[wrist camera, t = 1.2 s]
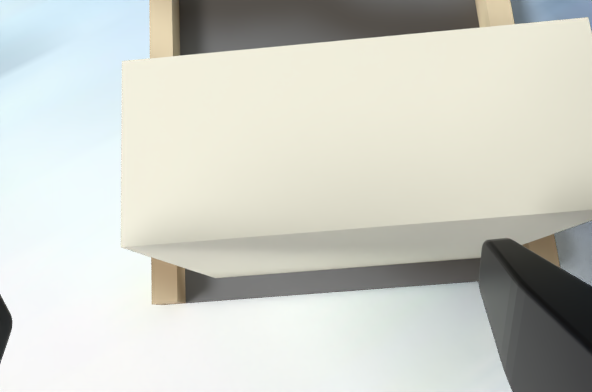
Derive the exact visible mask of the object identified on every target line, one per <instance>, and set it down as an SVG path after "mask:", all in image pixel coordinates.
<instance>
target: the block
mask: <svg viewBox="0 0 592 392" xmlns="http://www.w3.org/2000/svg"><path fill="white" fill-rule="evenodd" d="M591 220H592V32H591V28H590V23H589V19H588V17H586V18H576V19H565V20H555V21H544V22H533V23H523V24H512V25H501V26H491V27H480V28H469V29H459V30H448V31H437V32H427V33H416V34H405V35H395V36H384V37H373V38H363V39H352V40H341V41H331V42H320V43H309V44H299V45H288V46H277V47H267V48H256V49H245V50H235V51H224V52H214V53H203V54H192V55H182V56H171V57H160V58H150V59H139V60H128V61H122V140H121V248H124V249H128V250H131V251H134V252H137V253H140V254H143V255H146V256H149V257H152V258H155V259H158V260H161V261H164V262H167V263H170V264H173V265H177V266H180V267H183V268H186V269H189V270H192V271H195V272H198V273H201V274H204V275H207V276H210V277H213V278H224V277H237V276H251V275H264V274H277V273H290V272H303V271H316V270H329V269H342V268H355V267H368V266H381V265H394V264H407V263H420V262H433V261H446V260H459V259H472V258H481V251H482V245H483V243H484V242H485V241H486V240H488V239H500V238H510V239H512V240H514V241H516V242H517V243H519V244H521V245H523V244H526V243H529V242H532V241H535V240H538V239H540V238H543V237H546V236H549V235H552V234H555V233H557V232H560V231H563V230H566V229H569V228H572V227H574V226H577V225H580V224H583V223H586V222H589V221H591Z"/></svg>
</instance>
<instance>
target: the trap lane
mask: <svg viewBox="0 0 592 392" xmlns="http://www.w3.org/2000/svg"><path fill="white" fill-rule="evenodd" d="M512 24H514V18H513V13H512V8H511V2H510V0H150V58H160V57H171V56H182V55H192V54H203V53H214V52H224V51H235V50H245V49H256V48H267V47H277V46H288V45H299V44H309V43H320V42H331V41H341V40H352V39H363V38H373V37H384V36H395V35H405V34H416V33H427V32H437V31H448V30H459V29H469V28H480V27H491V26H501V25H512ZM522 246H524V247H526V248H528V249H529V250H531V251H533V252H534V253H536V254H538V255H539V256H541V257H543V258H544V259H546V260H548V261H550V262H551V263H553V264H555V265H556V266H558V267H560V264H559V258H558V253H557V248H556V242H555V237H554V234H552V235H549V236H546V237H543V238H540V239H538V240H535V241H532V242H529V243H526V244H523V245H522ZM480 261H481V258H472V259H459V260H446V261H433V262H420V263H407V264H394V265H381V266H368V267H355V268H342V269H329V270H316V271H303V272H290V273H277V274H264V275H251V276H237V277H224V278H213V277H210V276H207V275H204V274H201V273H198V272H195V271H192V270H189V269H186V268H183V267H180V266H177V265H173V264H170V263H167V262H164V261H161V260H158V259H155V258H152V257H151V265H152V304H156V305H168V304H182V303H195V302H208V301H222V300H235V299H248V298H262V297H275V296H288V295H302V294H315V293H328V292H342V291H355V290H368V289H382V288H395V287H408V286H422V285H435V284H448V283H462V282H475V281H479V271H480Z"/></svg>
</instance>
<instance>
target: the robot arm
mask: <svg viewBox="0 0 592 392" xmlns="http://www.w3.org/2000/svg"><path fill="white" fill-rule="evenodd" d="M479 288H480V293H481V296H482V299H483V303H484V306H485V309H486V313H487V316H488V319H489V323H490V326H491V329H492V333H493V336H494V339H495V343H496V346H497V349H498V353H499V356H500V359H501V362H502V365H503V368H504V371H505V374H506V377H507V379H508V382H509V384H510V386H511V389H512V391H513V392H592V286H590V285H588V284H587V283H585V282H583V281H582V280H580V279H578V278H577V277H575V276H573V275H572V274H570V273H568V272H566V271H565V270H563V269H561V268H560V267H558V266H556V265H555V264H553V263H551V262H550V261H548V260H546V259H544V258H543V257H541V256H539V255H538V254H536V253H534V252H533V251H531V250H529V249H528V248H526V247H524V246H522V245H521V244H519V243H517V242H516V241H514V240H512V239H510V238H500V239H488V240H486V241H485V242H484V243H483V245H482V251H481V261H480V271H479ZM11 330H12V317H11V314H10V312H9V310H8V308H7V306H6V304H5V303H4V301H3V299H2V297H1V295H0V363H1V360H2V357H3V354H4V351H5V348H6V345H7V342H8V339H9V336H10V333H11Z"/></svg>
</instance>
